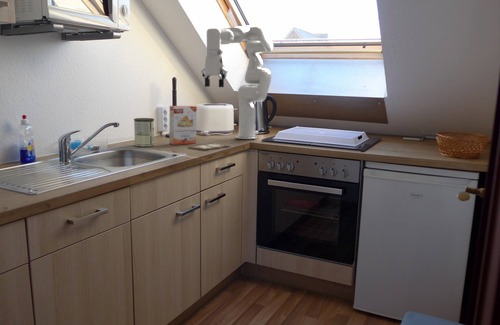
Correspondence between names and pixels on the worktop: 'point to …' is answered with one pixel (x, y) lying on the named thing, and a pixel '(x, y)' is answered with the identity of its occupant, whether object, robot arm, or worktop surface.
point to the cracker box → (182, 125)
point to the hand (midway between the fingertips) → (214, 86)
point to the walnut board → (208, 147)
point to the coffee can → (144, 131)
